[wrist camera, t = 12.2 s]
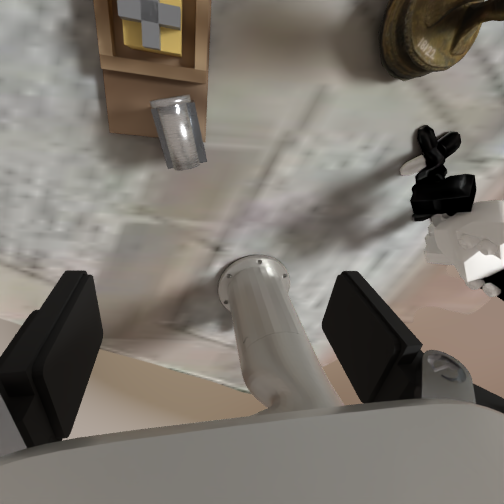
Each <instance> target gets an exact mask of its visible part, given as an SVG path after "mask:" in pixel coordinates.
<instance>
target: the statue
mask: <svg viewBox="0 0 504 504" xmlns="http://www.w3.org/2000/svg"><path fill="white" fill-rule="evenodd" d="M491 20H495V21H504V0H487V1H485V2H484V0H390V1H389V2H388V5H387V8H386V11H385V14H384V17H383V20H382V23H381V27H380V30H379V43H380V53H381V60H382V66H383V67H384V68H385V69H386V70H387V71H388V73H389V74H390V75H391V76H392V77H395V78H398V79H401V80H402V81H406V80H410V79H413V78H416V77H421V76H424V75H427V74H429V73H431V72H437V71H444V70H447V69H449V68H450V67H452V66H453V65H454V64H456V63H457V62H459V61H460V60H461V59H462V58H463V57H464V56H465V55H466V53H467V52H468V51H469V49H470V48H471V46H472V45H473V43H474V41H475V39H476V38H477V35H478V33H479V30H480V27H481V24H482V23H483V22H487V21H491Z"/></svg>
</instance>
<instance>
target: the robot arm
mask: <svg viewBox="0 0 504 504" xmlns="http://www.w3.org/2000/svg"><path fill="white" fill-rule="evenodd" d="M289 289H290V277H289V274H288V272H287V270H286V268H285V267H284V265H283V264H282V263H281V262H279V261H278V260H277V259H274V258H272V257H269V256H265V255H253V256H248V257H244V258H242V259H239V260H237V261H235V262H234V263H232V264H231V265H230V266H229V267H228V268H227V269H226V270H225V271H224V272H223V274H222V275H221V278H220V280H219V284H218V293H219V298H220V301H221V303H222V304H223V305H224V307H225V308H226V309H228V310H229V311H231V315H232V321H233V326H234V332H235V338H236V343H237V349H238V355H239V360H240V366H241V371H242V376H243V379H244V382H245V384H246V386H247V388H248V389H249V391H250V392H251V393H252V395H254V397H255V398H256V399H257V400H259V401H260V402H261V403H262V404H264V405H265V406H266V407H268V409H265V410H263V411H260V412H258V413H257V414H254V415H251V416H249V417H240V418H231V419H223V420H214V421H206V422H198V423H189V424H182V425H173V426H164V427H156V428H148V429H140V430H133V431H125V432H118V433H110V434H103V435H96V436H89V437H81V438H75V439H69V440H64V441H62V438H67V437H69V435H70V433H71V430H72V427H73V424H74V421H75V418H76V416H77V413H78V410H79V407H80V404H81V401H82V398H83V395H84V392H85V389H86V386H87V384H88V381H89V378H90V375H91V372H92V369H93V366H94V363H95V360H96V357H97V354H98V351H99V349H100V346H101V343H102V339H103V329H102V323H101V318H100V312H99V307H98V301H97V296H96V290H95V285H94V279H93V276H92V275H87V272H86V271H65V272H64V274H63V275H62V277H61V278H60V280H59V281H58V283H57V284H56V286H55V287H54V289H53V290H52V292H51V293H50V295H49V296H48V298H47V299H46V301H45V302H44V304H43V305H42V307H41V308H40V310H35V311H33V312H32V313H31V314H30V315H29V316H28V318H27V319H26V321H25V322H24V324H23V325H22V326H21V328H20V329H19V331H18V332H17V334H16V335H15V337H14V338H13V340H12V341H11V342H10V344H9V345H8V347H7V348H6V350H5V351H4V352H3V354H2V356H1V357H0V504H504V399H503V398H501V397H499V396H497V395H495V394H493V393H491V392H489V391H487V390H485V389H483V388H481V387H479V386H477V385H475V384H473V383H472V378H471V375H470V373H469V371H468V370H467V369H466V367H465V366H464V365H463V364H462V363H460V362H459V361H457V360H456V359H455V358H454V357H452V356H450V355H448V354H446V353H444V352H440V351H436V350H429V351H426V352H425V353H423V352H422V351H421V350H420V349H421V347H422V345H423V344H422V343H421V342H420V341H419V340H418V339H417V338H416V336H415V335H414V334H413V333H412V332H411V331H410V330H409V329H408V328H407V326H406V325H405V324H404V323H403V322H402V321H401V320H400V318H399V317H398V316H397V315H396V314H395V313H394V312H393V311H392V309H391V308H390V307H389V306H388V305H387V304H386V303H385V302H384V300H383V299H382V298H381V297H380V296H379V295H378V294H377V292H376V291H375V290H374V289H373V288H372V287H371V286H370V285H369V283H368V282H367V281H366V280H365V279H364V278H363V277H362V276H361V274H360V273H359V272H357V271H343V272H342V273H341V275H338V276H337V279H336V282H335V285H334V288H333V291H332V294H331V297H330V300H329V303H328V306H327V309H326V312H325V315H324V318H323V321H322V329H323V332H324V333H325V335H326V337H327V339H328V341H329V343H330V345H331V346H332V348H333V350H334V352H335V354H336V356H337V358H338V360H339V361H340V363H341V365H342V367H343V369H344V371H345V373H346V375H347V376H348V378H349V380H350V382H351V384H352V386H353V387H354V390H355V391H356V393H357V395H358V397H359V399H360V400H361V402H362V403H364V404H356V405H346V406H345V405H344V404H343V402H342V401H341V399H340V397H339V396H338V394H337V393H336V391H335V390H334V388H333V386H332V385H331V383H330V382H329V380H328V378H327V376H326V374H325V372H324V370H323V369H322V366H321V364H320V362H319V360H318V358H317V356H316V354H315V352H314V350H313V347H312V345H311V343H310V341H309V339H308V337H307V334H306V332H305V330H304V328H303V326H302V324H301V321H300V319H299V317H298V315H297V313H296V311H295V308H294V306H293V304H292V302H291V300H290V298H289V295H288V292H289Z"/></svg>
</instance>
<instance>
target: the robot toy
mask: <svg viewBox="0 0 504 504" xmlns="http://www.w3.org/2000/svg"><path fill="white" fill-rule="evenodd" d="M417 139H418V142H419V144H420V147H421V150H422V152H423V153H424V156H422V155H420V156H418V157H416V158H414V159H412V160H410V161H408V162H406V163H405V164H404V165H403V166H402V167H401V168H400V173H401V175H402V176H406V175H412V174H414V173H416V172H418V171H420V172H419V173H418V174H417V175H416V176H415V178H416V184H415V185H414V186H413V187H412V192H413V195H412V197H411V200H410V202H411V205H412V209H413V213H414V215H413V219H414V221H424V220H426V219H428V218H431V220H432V223H431V224H430V225H429V227H428V232H429V234H427V235H426V237H425V242H426V248H425V251H424V253H425V256H426V260H427V262H429V263H434V264H443V265H454V266H455V267H456V269H457V271H458V272H459V275H460V277H461V278H463V279H464V280H465V283H466V285H467V286H468V287H469V288H470V289H472V290H475V289H479V288H480V289H483V291H484V292H485V293H486V294H487V295H488V296H490V297H494V296H497V297H499V298H500V299H502V300H503V301H504V199H503V200H502V201H501V200H491V201H482V202H476V203H474V204H473V202H474V198H475V194H476V183H475V175H470V174H462V175H454V176H449V177H447V178H446V179H445V176H446V174H447V169H446V168H445V167H444V165H443V164H444V162H445V159H446V158H447V157H448V156H450V155H451V154H453V153H454V152H455V151H456V150H457V149H458V148H459V147H460V144H461V138H460V134H458V132H452V131H450V132H449V133H447V134H446V135H445V136H443V137H442V138H440V139H439V140H438V141H437V139H436V136H435V133H434V130H433V129H432V128H430V127H429V126H428V125H425V126H423V127H421V128H420V129H419V131H418V138H417ZM436 147H437V148H436Z"/></svg>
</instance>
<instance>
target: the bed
mask: <svg viewBox="0 0 504 504" xmlns="http://www.w3.org/2000/svg"><path fill="white" fill-rule="evenodd" d="M93 2H94V11H95V20H96V28H97V37H98V46H99V55H100V63H101V69H103V77H104V86H105V95H106V104H107V113H108V122H109V131H110V133H119V134H129V135H138V136H148V137H158V138H159V136H158V133H157V129H156V126H155V122H154V119H153V115H152V112H151V109H152V108H151V105H150V101H151V100H156V99H161V98H167V97H173V96H180V95H190V99H191V100H194V102H195V107H196V112H197V116H198V121H199V126H200V130H201V135H202V140H203V142H205V136H206V113H207V90H208V66H209V43H210V20H211V0H182V57H176V56H170V55H164V54H158V53H152V52H146V51H141V50H135V49H131V48H130V47H128V46H126V45H124V36H123V23H122V19H121V18H120V17H119V16H118V5H117V0H93Z"/></svg>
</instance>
